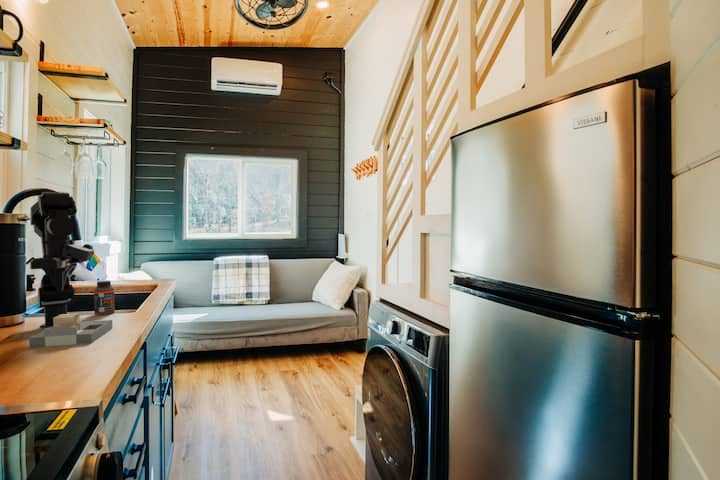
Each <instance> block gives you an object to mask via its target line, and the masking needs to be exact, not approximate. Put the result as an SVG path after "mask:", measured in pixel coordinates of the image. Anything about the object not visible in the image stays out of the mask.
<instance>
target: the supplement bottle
mask: <svg viewBox="0 0 720 480" xmlns="http://www.w3.org/2000/svg"><path fill="white" fill-rule="evenodd" d="M111 283H112V281H111V280H98V281H97V282H96V285H97V286H96V287H95V288H94V290H93V295H94V296H93V303H94V305H93V307H94V314H95V315H96V316H97V315H98V316H105V315H107V316H108V315H111V314H114V313H115V308H116V306H115V288H114V287H113V286H112V285H111Z"/></svg>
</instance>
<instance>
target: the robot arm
mask: <svg viewBox="0 0 720 480" xmlns="http://www.w3.org/2000/svg"><path fill="white" fill-rule="evenodd" d="M70 195H71V194H70V193H69V192H55V191H54V192H52V191H43V192H41V194H40V195H38V196H37V201H36V202H35V203H34V204H32V206H31V207H30V215H29V217H30V218H29V220H30V226H33V233H35V234H36V235H38V237H40V240H41V250H42V257H37V258H33V259H32V260H31V261H30V263H29V264H30V265H29V266H30V268H29V269H30V270H42V271H43V272H44V274H43V276H42V278H41V280H40V286H39V287H38V289H37V307H39V308H40V309H41V308H43V310H44V313H43V314H44V323H43V324H41V325H40V326H39V328H50V327H52V326H54V324H53V318H54V317H56V316H58V315H61V314H68V305H73V304H75V291H76V289H75V288H74V287H73V284H71V283H70V278H69V273H70V271H71V270H72V269H74V268H75V267H76V264H82V263H84V262H88V261H89V262H91V259H92V257H93V256H94V255H95V249H94V247H93V245H92V244H89V243H86V244H84V245H82V246H81V245H77V244H75V241H74V239H71V235H72V234H73V233H74V232H75V230H76V224H75V221H74V220H73V219H72V218H71V216H75V217H76V214H77V211H78V209H77V204H76V201H75V200H74V198H73V196H70ZM74 263H76V264H74Z"/></svg>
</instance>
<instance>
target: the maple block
mask: <svg viewBox="0 0 720 480" xmlns="http://www.w3.org/2000/svg"><path fill="white" fill-rule="evenodd" d="M80 320H81V318H80V313H79V312H78V313H67V314H61V315H58V316H56V317H54V318H53V324H54V328H58V327H74V326H77V331H78V330H80V322H81V321H80Z"/></svg>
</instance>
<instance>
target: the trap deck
mask: <svg viewBox="0 0 720 480" xmlns="http://www.w3.org/2000/svg"><path fill="white" fill-rule="evenodd" d="M112 329H113V319H108V320H107V319H106V320H90V321H89V320H87V321H80V330H78V331H77V326H74V327H58V328H54V326H52V327H45V328H44V330H43V331H41V332H38V333H36V334H34V335H32V336H30V337H29V338H28V342H29V344H28V345H29V348H30V349H31V348H42V347H43V348H46V347H55V346H56V347H57V346H69V345H70V346H71V345H72V346H73V345H85V344H93V343H95V341H97V340H98V339H100V338H101V337H102V336H103V335H105V334H107V333H108V332H110V331H111V330H112Z"/></svg>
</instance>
